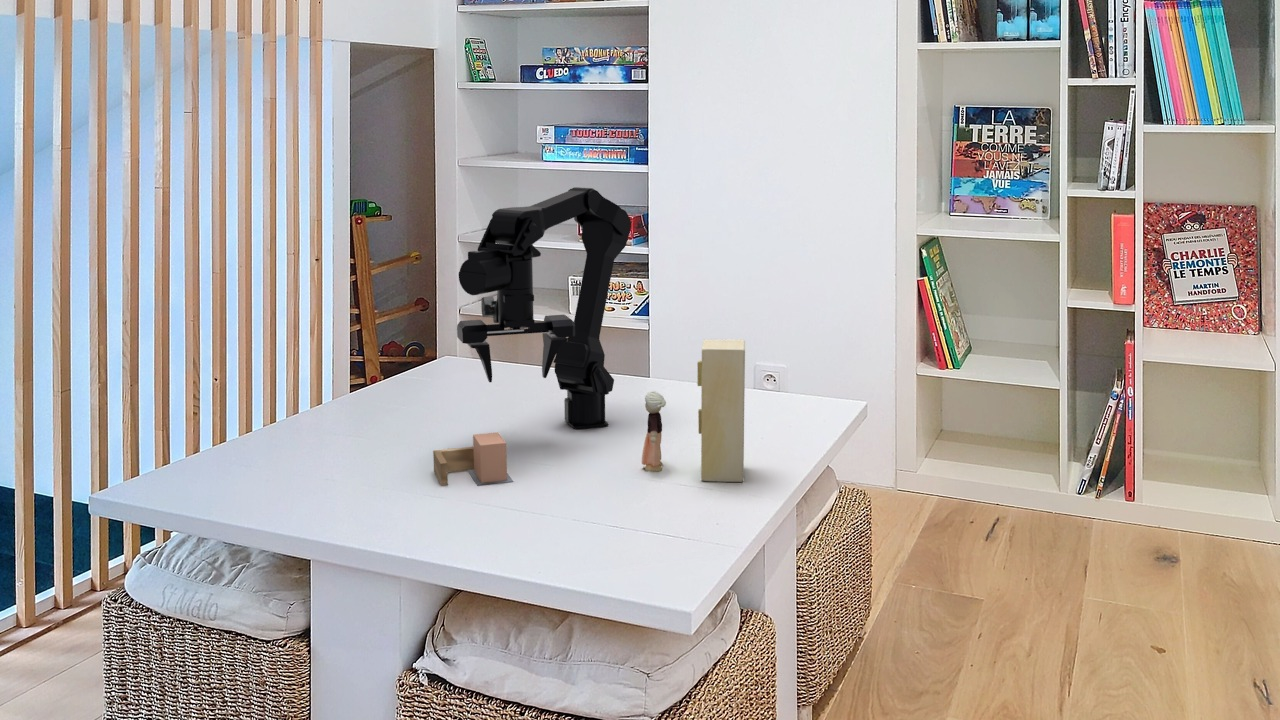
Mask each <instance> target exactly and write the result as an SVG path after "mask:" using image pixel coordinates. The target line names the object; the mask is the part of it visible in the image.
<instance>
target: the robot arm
mask: <svg viewBox="0 0 1280 720" xmlns="http://www.w3.org/2000/svg"><path fill="white" fill-rule="evenodd" d="M571 219H572V220H574V221H575V223H577V224H578V225H579V226H580V228H581V236H580V237H581V242H582V244H583V247H584V250H585V252H586V258H585V263H584V267H583V272H582V273H583V274H582V279H581V283H580V289H579V293H578V300H577V304H576V305H577V306H576V309H575V314H574V319H571V318H570V317H569V316H567V315H565V314H553V315H551V314H550V315H545V316H544V319H543V321H540V320H539V321H535V319H534V301H535V295H534V286H533V284H534V282H533V281H534V279H533V276H534V275H533V274H534V273H533V259H534V258H538V257H541V255H542V253H541V251H540V250H539V249H538V248H536V247H535V246H534V245H533V244H535V243H536V242H538V241H539V240H540V239H542V238H543V237H544V235H545V232H546V231H547V230H548V229H550V228H552V227H555V226H557V225H560V224H562V223H564V222H566V221H567V222H568V221H569V220H571ZM631 230H632V220H631V217H629V214H628V213H627V211H626V210H625V209H624V208H622V207H620V206H619V205H618V204H617V203H614V202H613V201H611V200H609V199H608V198H607V197H604V196H603V195H602V194H601V193H600V192H599V191H598V190H596V189H594V188H592V187H577V186H576V187H572V188H569V189H568V190H567V191H565V192H563V193H560V194H557V195H555V196H552V197H550V198H547V199H545V200H543V201H540V202H537V203H534V204H532V205H530V206H511V207H504V208H498V209H497V210H495V211H493V213H492V214H491V219H490V220H489V223H488V225H487V226H486V229H485V232H484V233H483V236H482V238H481V241H480V242H479V245H478V246H477V250H471V251H468V252H467V259H466V260H464V262H463V263H461V266H460V269H459V272H458V281H459V284H460V286H461V288H462V289H463V290H464V292H465V293H467V294H469V295H470V296H478V295H483V294H488V293H493V292H496V293H497V294H496V300H495V297H494V296H483V297H481V298H480V299H481V306H480V307H481V316H482V317H483V318H490V317H491V318H492V321H493V323H494V324H486V323H485V322H483V320H481V319H470V320H460V321H459V322H458V323H457V325H456V335H457V336H456V337H457V338H458V340H459V341H460V342H461V343H462V344H467V345H468V346H469V348H471V349H475V350H476V353H477V356H478V357H479V359H480V363H481V365H482V368H483V370H484V373H485V375H486V379H487V381H488V382H489V383H492V382H493V368H492V360H491V359H492V358H491V357H492V356H491V349H490V348H491V347H490V343H488V342H487V339H488V337H494V336H507V335H508V336H510V335H511V336H512V335H525V334H526V335H527V334H539V333H540V334H541V333H542V341H543V342H542V343H543V347H542V348H543V349H542V360H541V361H542V363H541V373H542V375H541V376H542V378H543V379H546V378H547V377H548V375H549V372H550V370H551V368H552V364H553V363H554V374H555V376H556V379H557V382H558V387H559V390H565V391H566V394H567V395H566V396H567V397H565V398H564V401H563V402H564V421H566V423H567V424H568V425H569V426H570V427H571V428H573V429H575V430H578V429H589V428H599V427H609V422H608V421H606V395H607V396H608V395H609V394H610V392H613V389H614V388H613V387H614V383H615V379H614V377H613V376H612V375H611V374H610V372H609V371H608V370H607V369H606V368H605V356H606V354H605V352H604V349H603V346H602V343H601V340H600V336H601V330H602V326H603V321H604V320H603V319H604V315H605V309H606V303H607V300H608V299H607V298H608V293H609V289H610V283H611V279H612V273H613V268H614V263H615V260H616V259H617V257H618V256H619V255H620V254H621V253H622V251H623V250H624V249H625V248H626V246H627V242H628V239H629V236H630V233H631Z"/></svg>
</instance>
